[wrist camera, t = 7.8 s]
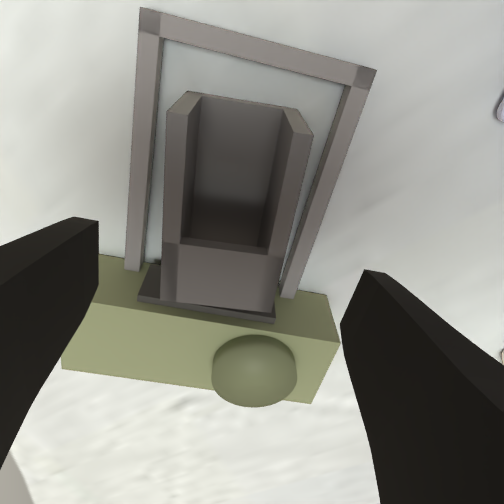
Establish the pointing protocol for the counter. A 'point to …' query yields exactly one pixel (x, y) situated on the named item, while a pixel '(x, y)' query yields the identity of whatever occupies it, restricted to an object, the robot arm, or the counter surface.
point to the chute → (229, 199)
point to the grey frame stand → (210, 317)
